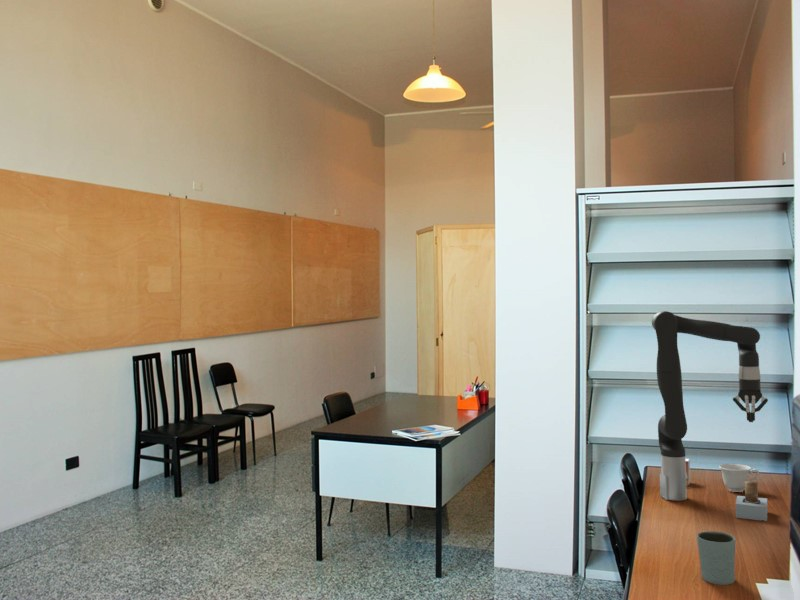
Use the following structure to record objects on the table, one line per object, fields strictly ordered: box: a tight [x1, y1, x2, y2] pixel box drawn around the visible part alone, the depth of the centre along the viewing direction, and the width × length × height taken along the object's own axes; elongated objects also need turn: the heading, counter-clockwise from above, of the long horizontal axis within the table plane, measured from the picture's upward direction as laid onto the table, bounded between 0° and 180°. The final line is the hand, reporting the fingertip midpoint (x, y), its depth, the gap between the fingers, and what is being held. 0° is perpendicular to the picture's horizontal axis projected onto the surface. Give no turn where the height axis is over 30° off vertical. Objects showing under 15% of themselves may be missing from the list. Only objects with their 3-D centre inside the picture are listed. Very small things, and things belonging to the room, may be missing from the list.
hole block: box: [735, 495, 769, 522], centre depth 255 cm, size 12×10×5 cm
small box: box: [685, 458, 691, 486], centre depth 302 cm, size 8×6×10 cm
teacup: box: [718, 463, 760, 493], centre depth 286 cm, size 12×15×10 cm
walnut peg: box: [744, 480, 759, 504], centre depth 255 cm, size 4×4×12 cm
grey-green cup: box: [696, 530, 736, 586], centre depth 197 cm, size 10×10×12 cm
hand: (750, 421), depth 272 cm, fingers closed
